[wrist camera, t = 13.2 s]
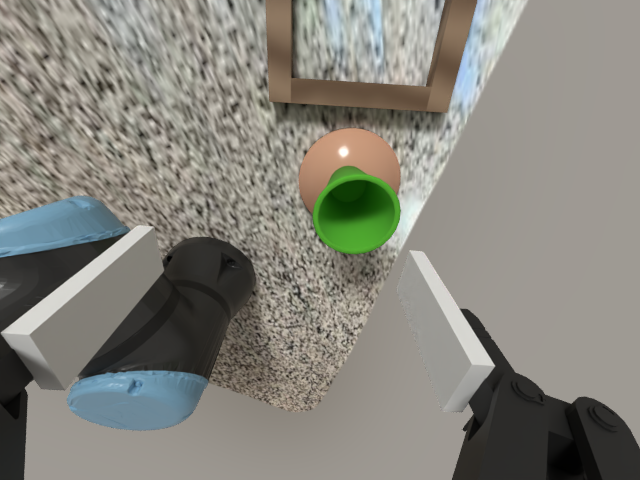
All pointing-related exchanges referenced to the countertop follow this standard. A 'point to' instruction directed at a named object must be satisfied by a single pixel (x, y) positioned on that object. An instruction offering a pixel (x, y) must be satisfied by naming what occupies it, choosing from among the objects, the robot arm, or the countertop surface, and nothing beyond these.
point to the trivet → (346, 161)
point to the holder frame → (368, 94)
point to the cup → (356, 211)
